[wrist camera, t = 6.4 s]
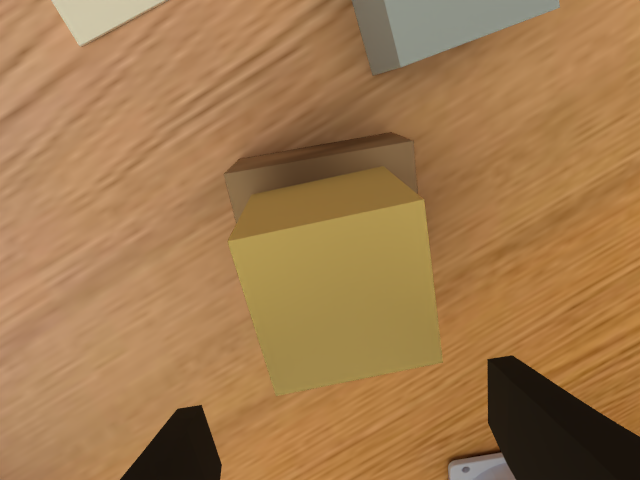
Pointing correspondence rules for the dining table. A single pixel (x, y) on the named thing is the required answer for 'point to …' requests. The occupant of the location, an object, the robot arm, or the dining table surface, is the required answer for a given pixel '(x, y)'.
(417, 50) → the slate brick
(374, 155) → the walnut base
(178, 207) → the dining table surface
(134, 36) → the dining table surface
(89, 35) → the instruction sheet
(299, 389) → the mustard brick
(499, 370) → the robot arm
